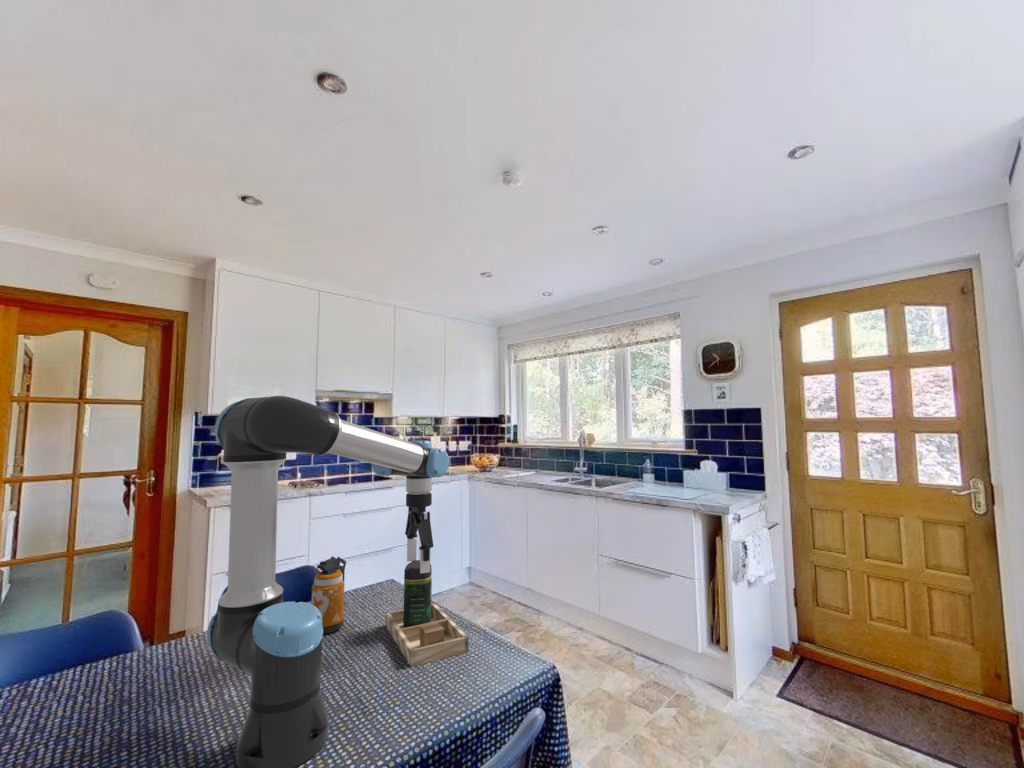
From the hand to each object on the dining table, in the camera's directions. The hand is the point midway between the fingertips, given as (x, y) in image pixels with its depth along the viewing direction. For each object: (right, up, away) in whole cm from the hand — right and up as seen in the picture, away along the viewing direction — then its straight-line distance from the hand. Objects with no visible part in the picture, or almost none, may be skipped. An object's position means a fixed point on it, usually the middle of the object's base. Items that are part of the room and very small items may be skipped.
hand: (418, 566), depth 129 cm
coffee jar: (0, -17, -2) cm, 18 cm away
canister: (-27, -19, +1) cm, 33 cm away
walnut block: (+6, -16, -13) cm, 22 cm away
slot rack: (+3, -17, -8) cm, 19 cm away
